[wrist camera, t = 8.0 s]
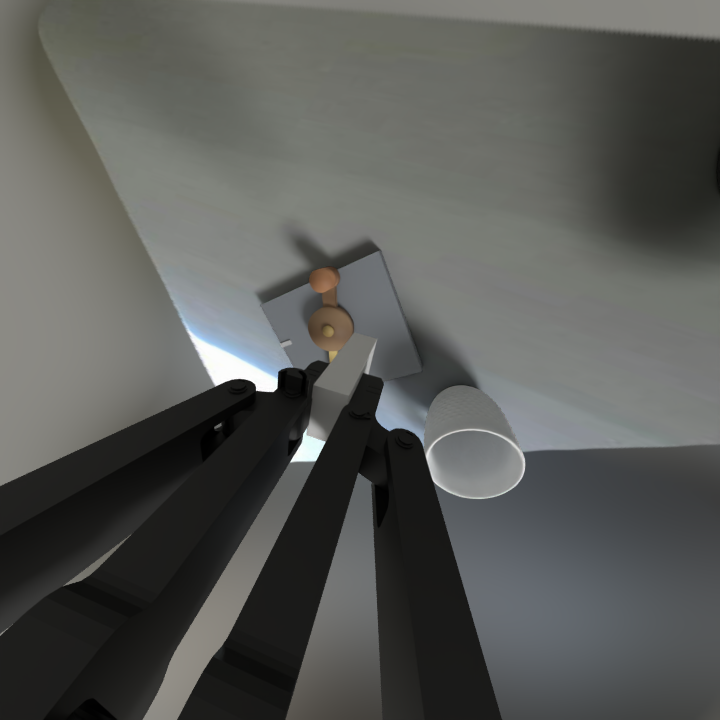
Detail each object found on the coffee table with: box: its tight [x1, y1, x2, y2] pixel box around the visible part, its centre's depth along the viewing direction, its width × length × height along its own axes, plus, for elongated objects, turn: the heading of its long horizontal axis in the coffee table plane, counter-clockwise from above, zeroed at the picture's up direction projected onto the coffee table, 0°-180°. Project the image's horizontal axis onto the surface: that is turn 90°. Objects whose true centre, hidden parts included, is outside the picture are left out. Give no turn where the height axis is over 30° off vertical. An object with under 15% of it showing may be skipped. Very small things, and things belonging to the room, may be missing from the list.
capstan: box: [308, 266, 354, 363], centre depth 36 cm, size 17×6×4 cm, turn 1°
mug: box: [424, 385, 525, 499], centre depth 36 cm, size 15×11×13 cm
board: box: [260, 250, 422, 382], centre depth 39 cm, size 20×18×2 cm
